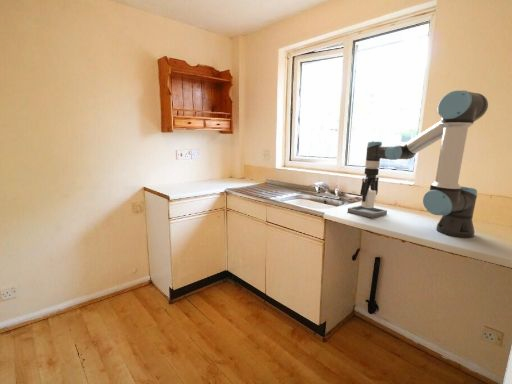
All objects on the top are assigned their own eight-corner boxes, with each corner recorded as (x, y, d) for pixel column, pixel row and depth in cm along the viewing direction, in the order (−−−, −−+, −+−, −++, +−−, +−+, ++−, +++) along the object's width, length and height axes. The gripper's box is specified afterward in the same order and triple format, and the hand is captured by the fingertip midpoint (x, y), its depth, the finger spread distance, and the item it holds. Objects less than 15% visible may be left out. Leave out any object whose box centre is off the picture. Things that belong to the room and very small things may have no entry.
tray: (386, 214, 166) (387, 210, 165) (371, 218, 156) (372, 214, 156) (362, 208, 178) (362, 204, 178) (347, 212, 169) (347, 208, 168)
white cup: (375, 208, 162) (377, 192, 160) (361, 208, 163) (363, 191, 162) (373, 205, 170) (374, 189, 168) (359, 204, 171) (361, 189, 169)
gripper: (375, 166, 171) (371, 202, 175) (356, 168, 159) (352, 206, 163) (387, 167, 165) (382, 205, 170) (368, 169, 153) (363, 209, 157)
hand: (367, 205), depth 166 cm, fingers closed on white cup, 7 cm apart
